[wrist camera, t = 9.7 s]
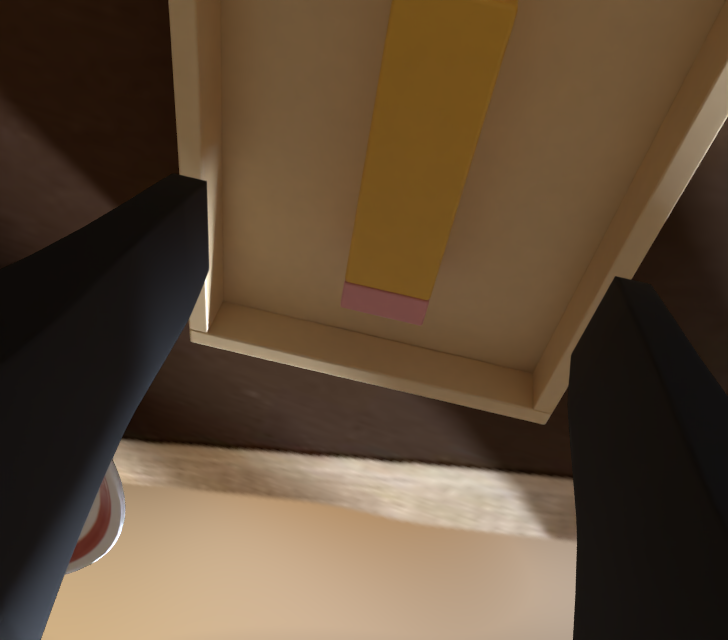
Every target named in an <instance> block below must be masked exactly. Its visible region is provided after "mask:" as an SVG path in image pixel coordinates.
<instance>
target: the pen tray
mask: <svg viewBox="0 0 728 640" xmlns="http://www.w3.org/2000/svg"><path fill="white" fill-rule="evenodd" d="M168 2H169V17H170V33H171V49H172V64H173V80H174V96H175V111H176V127H177V143H178V158H179V174H180V175H183V176H187V177H192V178H196V179H200V180H205V181H207V198H208V235H209V272H208V274H207V277H206V280H205V282H204V285H203V287H202V290H201V292H200V295H199V297H198V299H197V302H196V304H195V307H194V309H193V311H192V314H191V316H190V318H189V328H190V341H191V342H195V343H199V344H203V345H207V346H212V347H216V348H220V349H224V350H229V351H233V352H237V353H241V354H246V355H250V356H254V357H258V358H263V359H267V360H271V361H275V362H280V363H284V364H288V365H292V366H297V367H301V368H305V369H309V370H314V371H318V372H322V373H326V374H331V375H335V376H339V377H343V378H348V379H352V380H356V381H360V382H365V383H369V384H373V385H377V386H382V387H386V388H390V389H394V390H399V391H403V392H407V393H411V394H416V395H420V396H424V397H428V398H433V399H437V400H441V401H445V402H450V403H454V404H458V405H462V406H467V407H471V408H475V409H479V410H483V411H488V412H492V413H496V414H500V415H505V416H509V417H513V418H517V419H522V420H526V421H530V422H534V423H539V424H543V425H544V424H546V422H547V421H548V419H549V417H550V416H551V413H553V411H554V409H555V408H556V406H557V404H558V403H559V401H560V399H561V398H562V396H563V394H564V392H565V391H566V389H567V387H568V386H569V373H570V360H571V354H572V352H573V350H574V348H575V347H576V345H577V343H578V341H579V339H580V338H581V336H582V334H583V332H584V331H585V329H586V327H587V325H588V323H589V322H590V320H591V318H592V316H593V315H594V313H595V311H596V309H597V307H598V306H599V304H600V302H601V300H602V299H603V297H604V295H605V293H606V291H607V290H608V288H609V286H610V284H611V282H612V281H613V279H614V277H615V276H617V277H622V278H626V279H630V280H631V279H632V277H633V276H634V274H635V272H636V271H637V269H638V267H639V266H640V264H641V262H642V261H643V259H644V257H645V255H646V254H647V252H648V250H649V249H650V247H651V245H652V244H653V242H654V240H655V239H656V237H657V235H658V233H659V232H660V230H661V228H662V227H663V225H664V223H665V222H666V220H667V218H668V217H669V215H670V213H671V211H672V210H673V208H674V206H675V205H676V203H677V201H678V200H679V198H680V196H681V195H682V193H683V191H684V189H685V188H686V186H687V184H688V183H689V181H690V179H691V178H692V176H693V174H694V173H695V171H696V169H697V167H698V166H699V164H700V162H701V161H702V159H703V157H704V156H705V154H706V152H707V151H708V149H709V147H710V145H711V144H712V142H713V140H714V139H715V137H716V135H717V134H718V132H719V130H720V129H721V127H722V125H723V123H724V122H725V120H726V118H727V117H728V0H518V12H517V15H516V18H515V21H514V25H513V28H512V31H511V35H510V38H509V41H508V44H507V48H506V51H505V54H504V58H503V61H502V64H501V67H500V71H499V74H498V77H497V81H496V84H495V87H494V91H493V94H492V97H491V100H490V104H489V107H488V110H487V114H486V117H485V120H484V123H483V127H482V130H481V133H480V137H479V140H478V143H477V146H476V150H475V153H474V156H473V160H472V163H471V166H470V169H469V173H468V176H467V179H466V183H465V186H464V189H463V193H462V196H461V199H460V202H459V206H458V209H457V212H456V216H455V219H454V222H453V225H452V229H451V232H450V235H449V239H448V242H447V245H446V248H445V252H444V255H443V258H442V262H441V265H440V268H439V271H438V275H437V278H436V281H435V285H434V288H433V291H432V295H431V297H430V300H429V305H428V308H427V311H426V315H425V318H424V321H423V324H422V325H421V326H419V325H415V324H411V323H406V322H402V321H398V320H393V319H389V318H385V317H381V316H376V315H372V314H368V313H363V312H359V311H355V310H351V309H346V308H342V307H341V306H340V303H341V297H342V291H343V285H344V281H345V274H346V268H347V262H348V256H349V251H350V245H351V239H352V233H353V227H354V221H355V215H356V209H357V203H358V197H359V191H360V186H361V180H362V174H363V168H364V162H365V156H366V150H367V144H368V138H369V132H370V126H371V121H372V115H373V109H374V103H375V97H376V91H377V85H378V79H379V73H380V67H381V62H382V56H383V50H384V44H385V38H386V32H387V26H388V20H389V14H390V8H391V2H392V0H168Z"/></svg>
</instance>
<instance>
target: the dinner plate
mask: <svg viewBox="0 0 728 640" xmlns="http://www.w3.org/2000/svg"><path fill="white" fill-rule="evenodd" d="M124 498H125V497H124V492H123V487H122V482H121V479H120V476H119V474H118V471H117V469H116V466H115V464H114V462H113V460H112V461H111V463H110V465H109V467H108V470H107V472H106V474H105V476H104V479H103V481H102V483H101V486H100V488H99V491H98V493H97V495H96V498H95V500H94V502H93V505H92V507H91V510H90V512H89V514H88V517H87V519H86V522H85V524H84V526H83V529H82V531H81V534H80V536H79V539H78V542H77V544H76V547H75V549H74V552H73V554H72V557H71V559H70V562H69V565H68V567H67V570H66V572H65V574H69V573H72V572H74V571H77V570H80V569H82V568H84V567H86V566H88V565H91V564H92V563H94V562H95V561H97V560H98V559H100V558H102V557H103V556H104V555H105V554H106V553H107V552H108V551H109V550H110V549H111V548H112V547H113V545H114V544H115V543H116V542H117V540H118V538H119V536H120V533H121V530H122V527H123V523H124V519H125V499H124Z"/></svg>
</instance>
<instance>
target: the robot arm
mask: <svg viewBox="0 0 728 640" xmlns="http://www.w3.org/2000/svg"><path fill="white" fill-rule="evenodd" d="M208 272H209V235H208V198H207V181H205V180H200V179H196V178H192V177H187V176H183V175H179V174H175V173H173V174H171V175H169V176H167V177H166V178H164V179H162V180H161V181H159V182H157V183H156V184H154V185H152V186H151V187H149V188H148V189H146V190H144V191H143V192H141V193H139V194H138V195H136V196H135V197H133V198H131V199H130V200H128V201H127V202H125V203H123V204H122V205H120V206H118V207H117V208H115V209H113V210H112V211H110V212H108V213H107V214H105V215H103V216H101V217H100V218H98V219H96V220H95V221H93V222H91V223H90V224H88V225H86V226H85V227H83V228H81V229H79V230H77V231H75V232H74V233H72V234H70V235H68V236H66V237H64V238H62V239H60V240H58V241H56V242H55V243H53V244H51V245H49V246H47V247H45V248H43V249H41V250H39V251H38V252H36V253H34V254H32V255H30V256H28V257H26V258H24V259H22V260H19V261H17V262H15V263H13V264H11V265H9V266H6V267H4V268H2V269H0V640H41V638H42V635H43V632H44V629H45V627H46V624H47V621H48V618H49V615H50V612H51V610H52V607H53V604H54V602H55V599H56V596H57V593H58V591H59V588H60V585H61V582H62V580H63V577H64V575H65V572H66V570H67V567H68V565H69V562H70V559H71V557H72V554H73V552H74V549H75V547H76V544H77V542H78V539H79V536H80V534H81V531H82V529H83V526H84V524H85V522H86V519H87V517H88V514H89V512H90V510H91V507H92V505H93V502H94V500H95V498H96V495H97V493H98V491H99V488H100V486H101V483H102V481H103V479H104V476H105V474H106V472H107V470H108V467H109V465H110V463H111V461H112V458H113V456H114V454H115V452H116V449H117V447H118V445H119V443H120V440H121V438H122V436H123V434H124V432H125V430H126V428H127V426H128V424H129V422H130V420H131V418H132V416H133V414H134V412H135V411H136V409H137V407H138V405H139V404H140V402H141V400H142V399H143V397H144V395H145V393H146V392H147V390H148V388H149V387H150V385H151V383H152V382H153V380H154V378H155V376H156V375H157V373H158V371H159V370H160V368H161V366H162V364H163V363H164V361H165V359H166V358H167V356H168V354H169V353H170V351H171V349H172V347H173V346H174V344H175V342H176V340H177V339H178V337H179V335H180V333H181V332H182V330H183V328H184V327H185V325H186V323H187V321H188V319H189V318H190V316H191V314H192V311H193V309H194V307H195V304H196V302H197V299H198V297H199V295H200V292H201V290H202V287H203V285H204V282H205V280H206V277H207V274H208ZM568 419H569V433H570V446H571V459H572V471H573V483H574V495H575V508H576V524H577V562H576V595H575V612H574V631H573V640H728V396H727V394H726V393H725V392H724V390H723V389H722V388H721V386H720V385H719V384H718V382H717V381H716V379H715V378H714V377H713V375H712V374H711V372H710V371H709V370H708V368H707V367H706V365H705V364H704V362H703V361H702V360H701V358H700V357H699V355H698V354H697V352H696V351H695V349H694V348H693V346H692V345H691V343H690V342H689V340H688V339H687V337H686V336H685V334H684V333H683V331H682V330H681V328H680V327H679V325H678V324H677V322H676V321H675V319H674V318H673V316H672V315H671V313H670V312H669V310H668V309H667V307H666V306H665V304H664V303H663V301H662V300H661V298H660V297H659V295H658V294H657V292H656V291H655V290H654V288H653V287H652V286H651V284H648V283H643V282H639V281H635V280H630V279H626V278H622V277H617V276H615V277H614V279H613V281H612V282H611V284H610V286H609V288H608V290H607V291H606V293H605V295H604V297H603V299H602V300H601V302H600V304H599V306H598V307H597V309H596V311H595V313H594V315H593V316H592V318H591V320H590V322H589V323H588V325H587V327H586V329H585V331H584V332H583V334H582V336H581V338H580V339H579V341H578V343H577V345H576V347H575V348H574V350H573V352H572V354H571V360H570V373H569V387H568Z"/></svg>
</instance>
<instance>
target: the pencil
mask: <svg viewBox="0 0 728 640" xmlns="http://www.w3.org/2000/svg"><path fill="white" fill-rule="evenodd" d="M517 12H518V0H392V2H391V8H390V14H389V20H388V26H387V32H386V38H385V44H384V50H383V56H382V62H381V67H380V73H379V79H378V85H377V91H376V97H375V103H374V109H373V115H372V121H371V126H370V132H369V138H368V144H367V150H366V156H365V162H364V168H363V174H362V180H361V186H360V191H359V197H358V203H357V209H356V215H355V221H354V227H353V233H352V239H351V245H350V251H349V256H348V262H347V268H346V274H345V281H344V285H343V291H342V297H341V303H340V306H341V307H342V308H346V309H351V310H355V311H359V312H363V313H368V314H372V315H376V316H381V317H385V318H389V319H393V320H398V321H402V322H406V323H411V324H415V325H419V326H421V325H422V324H423V321H424V318H425V315H426V311H427V308H428V305H429V300H430V297H431V295H432V291H433V288H434V285H435V281H436V278H437V275H438V271H439V268H440V265H441V262H442V258H443V255H444V252H445V248H446V245H447V242H448V239H449V235H450V232H451V229H452V225H453V222H454V219H455V216H456V212H457V209H458V206H459V202H460V199H461V196H462V193H463V189H464V186H465V183H466V179H467V176H468V173H469V169H470V166H471V163H472V160H473V156H474V153H475V150H476V146H477V143H478V140H479V137H480V133H481V130H482V127H483V123H484V120H485V117H486V114H487V110H488V107H489V104H490V100H491V97H492V94H493V91H494V87H495V84H496V81H497V77H498V74H499V71H500V67H501V64H502V61H503V58H504V54H505V51H506V48H507V44H508V41H509V38H510V35H511V31H512V28H513V25H514V21H515V18H516V15H517Z"/></svg>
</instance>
